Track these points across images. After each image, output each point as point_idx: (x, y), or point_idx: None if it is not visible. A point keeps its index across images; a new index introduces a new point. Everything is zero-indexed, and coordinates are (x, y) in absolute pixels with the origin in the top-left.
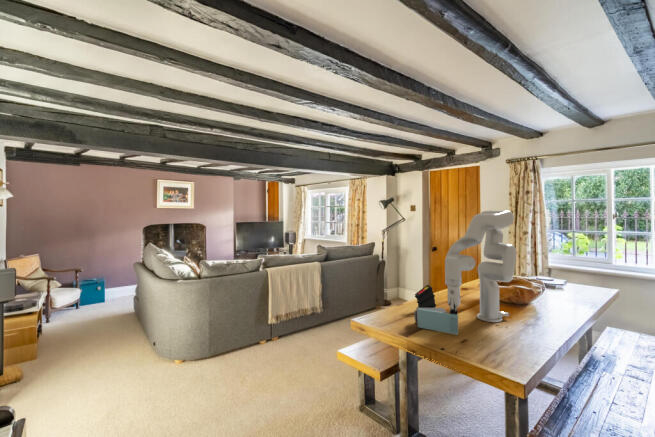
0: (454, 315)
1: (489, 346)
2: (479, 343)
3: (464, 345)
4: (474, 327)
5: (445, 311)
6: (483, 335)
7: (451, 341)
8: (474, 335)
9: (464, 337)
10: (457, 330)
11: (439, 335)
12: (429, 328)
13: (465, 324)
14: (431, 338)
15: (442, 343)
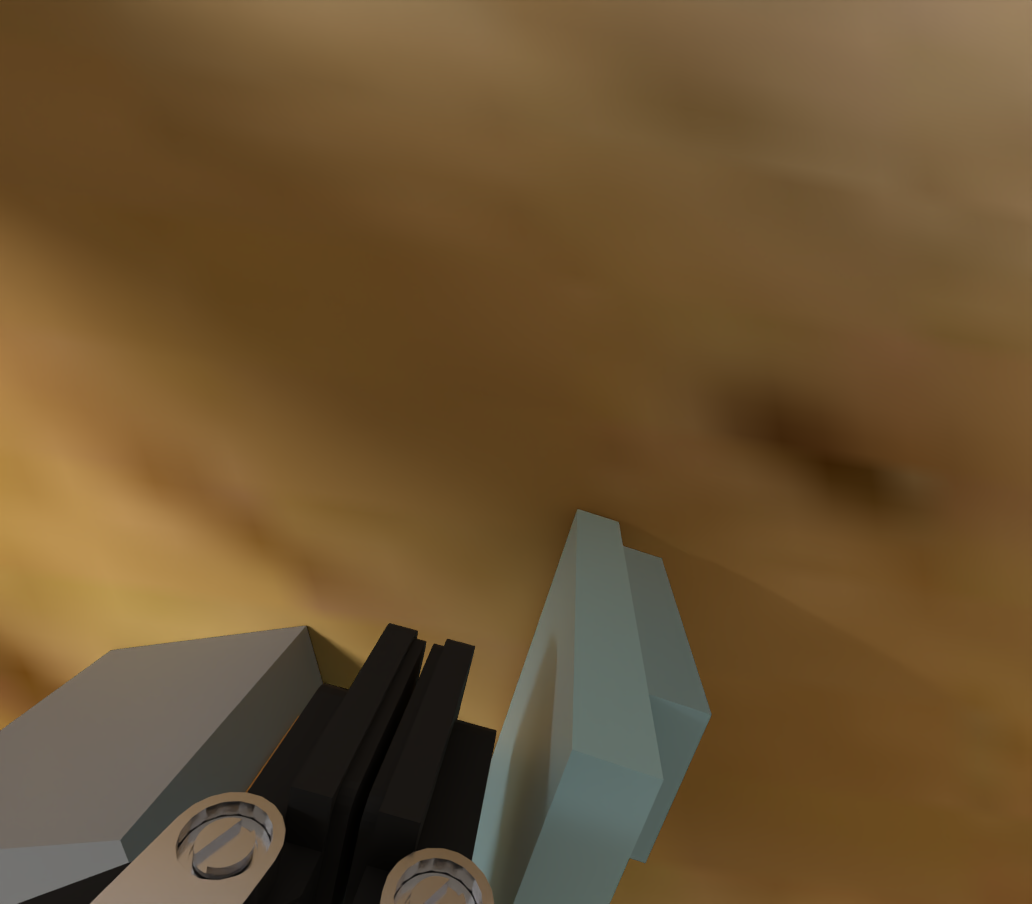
0: (622, 846)
1: (1025, 24)
2: (897, 198)
3: (1009, 473)
4: (143, 160)
5: (64, 855)
6: (495, 49)
7: (862, 642)
8: (533, 226)
9: (661, 418)
10: (649, 563)
11: None
12: None
13: (56, 304)
14: (785, 884)
15: (955, 775)
